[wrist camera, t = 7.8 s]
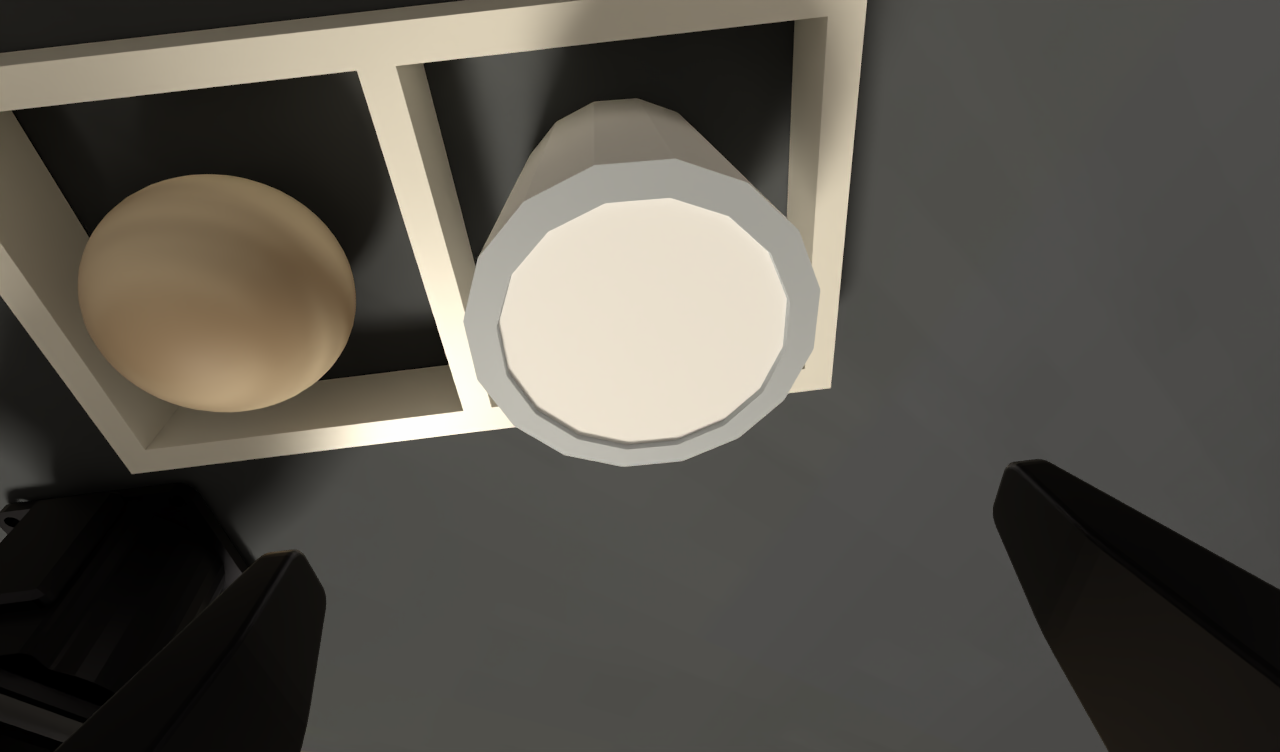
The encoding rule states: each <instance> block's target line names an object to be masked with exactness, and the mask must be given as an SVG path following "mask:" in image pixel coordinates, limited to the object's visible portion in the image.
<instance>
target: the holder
mask: <svg viewBox="0 0 1280 752" xmlns="http://www.w3.org/2000/svg"><path fill="white" fill-rule="evenodd" d="M866 6H867V0H462V1H453V2H445V3H436V4H427V5H418V6H410V7H401V8H392V9H383V10H374V11H366V12H357V13H348V14H339V15H330V16H322V17H313V18H304V19H295V20H287V21H278V22H269V23H260V24H251V25H243V26H234V27H225V28H216V29H207V30H199V31H190V32H181V33H172V34H164V35H155V36H146V37H137V38H128V39H120V40H111V41H102V42H93V43H84V44H76V45H67V46H58V47H49V48H41V49H32V50H23V51H14V52H5V53H0V296H1V297H2V298H3V300H4V301H5V302H6V304H7V305H8V306H9V308H10V309H11V311H12V312H13V313H14V315H15V316H16V317H17V319H18V320H19V321H20V323H21V324H22V325H23V327H24V328H25V330H26V331H27V332H28V334H29V335H30V336H31V338H32V339H33V340H34V342H35V343H36V345H37V346H38V347H39V349H40V350H41V351H42V353H43V354H44V355H45V357H46V358H47V359H48V361H49V362H50V364H51V365H52V366H53V368H54V369H55V370H56V372H57V373H58V374H59V376H60V377H61V379H62V380H63V381H64V383H65V384H66V385H67V387H68V388H69V389H70V391H71V392H72V393H73V395H74V396H75V398H76V399H77V400H78V402H79V403H80V404H81V406H82V407H83V408H84V410H85V411H86V413H87V414H88V415H89V417H90V418H91V419H92V421H93V422H94V423H95V425H96V426H97V427H98V429H99V430H100V432H101V433H102V434H103V436H104V437H105V438H106V440H107V441H108V442H109V444H110V445H111V447H112V448H113V449H114V451H115V452H116V453H117V455H118V456H119V457H120V459H121V460H122V461H123V463H124V464H125V466H126V467H127V468H128V470H129V471H130V472H131V474H137V473H146V472H154V471H162V470H170V469H178V468H186V467H194V466H202V465H210V464H218V463H227V462H235V461H243V460H251V459H259V458H267V457H275V456H283V455H291V454H299V453H308V452H316V451H324V450H332V449H340V448H348V447H356V446H364V445H372V444H381V443H389V442H397V441H405V440H413V439H421V438H429V437H437V436H445V435H453V434H462V433H470V432H478V431H486V430H494V429H502V428H510V427H515V426H513V424H512V423H511V422H510V420H509V419H508V418H507V417H506V415H505V414H504V413H503V412H502V410H501V409H500V408H499V407H498V405H497V404H496V403H495V402H494V400H493V399H492V398H491V397H490V395H489V394H488V393H487V391H486V390H485V389H484V388H483V386H482V385H481V384H480V383H479V381H478V380H477V377H476V373H475V369H474V365H473V360H472V356H471V352H470V348H469V344H468V340H467V336H466V331H465V327H464V323H463V320H464V315H465V311H466V307H467V302H468V298H469V294H470V289H471V285H472V281H473V277H474V272H475V268H476V266H475V263H474V259H473V255H472V251H471V247H470V243H469V239H468V235H467V232H466V228H465V224H464V220H463V216H462V212H461V208H460V204H459V201H458V197H457V193H456V189H455V185H454V181H453V177H452V173H451V170H450V166H449V162H448V158H447V154H446V150H445V146H444V142H443V139H442V135H441V131H440V127H439V123H438V119H437V115H436V111H435V108H434V104H433V100H432V96H431V92H430V88H429V84H428V81H427V77H426V73H425V69H424V65H423V63H427V62H435V61H444V60H453V59H462V58H470V57H479V56H488V55H496V54H505V53H514V52H522V51H531V50H540V49H548V48H557V47H566V46H575V45H583V44H592V43H601V42H609V41H618V40H627V39H635V38H644V37H653V36H661V35H670V34H679V33H687V32H696V31H705V30H714V29H722V28H731V27H740V26H748V25H757V24H766V23H774V22H783V21H792V20H795V22H794V48H793V73H792V99H791V124H790V150H789V175H788V201H787V219H788V220H789V221H790V222H791V223H792V224H793V225H794V226H795V227H796V228H797V229H798V230H799V231H800V234H801V237H802V240H803V243H804V245H805V248H806V251H807V254H808V256H809V259H810V262H811V265H812V268H813V270H814V273H815V276H816V279H817V281H818V284H819V287H820V298H819V307H818V315H817V324H816V333H815V341H814V349H813V351H812V353H811V354H810V356H809V358H808V359H807V361H806V363H805V365H804V366H803V368H802V370H801V372H800V373H799V375H798V377H797V378H796V380H795V382H794V384H793V385H792V387H791V389H790V391H789V392H788V393H794V392H802V391H810V390H818V389H826V388H831V378H832V368H833V357H834V346H835V336H836V325H837V315H838V304H839V293H840V283H841V272H842V261H843V251H844V240H845V230H846V219H847V208H848V198H849V187H850V176H851V166H852V155H853V145H854V134H855V123H856V113H857V102H858V91H859V81H860V70H861V60H862V49H863V38H864V28H865V17H866ZM349 71H357V73H358V76H359V79H360V82H361V85H362V89H363V92H364V95H365V98H366V101H367V105H368V108H369V111H370V114H371V117H372V120H373V124H374V127H375V130H376V133H377V136H378V140H379V143H380V146H381V149H382V152H383V156H384V159H385V162H386V165H387V168H388V172H389V175H390V178H391V181H392V184H393V188H394V191H395V194H396V197H397V200H398V203H399V207H400V210H401V213H402V216H403V219H404V223H405V226H406V229H407V232H408V235H409V239H410V242H411V245H412V248H413V251H414V255H415V258H416V261H417V264H418V267H419V271H420V274H421V277H422V280H423V283H424V286H425V290H426V293H427V296H428V299H429V302H430V306H431V309H432V312H433V315H434V318H435V322H436V325H437V328H438V331H439V334H440V338H441V341H442V344H443V347H444V350H445V353H446V357H447V360H448V363H449V365H443V366H435V367H427V368H419V369H411V370H402V371H394V372H386V373H378V374H370V375H361V376H353V377H345V378H337V379H328V380H320V381H316V382H315V383H314V384H313V385H312V386H310V387H308V388H307V389H305V390H304V391H302V392H300V393H299V394H297V395H296V396H294V397H292V398H289V399H287V400H285V401H283V402H280V403H277V404H275V405H271V406H268V407H265V408H260V409H255V410H249V411H242V412H211V411H203V410H195V409H191V408H186V407H182V406H179V405H175V404H172V403H170V402H167V401H164V400H162V399H159V398H157V397H155V396H153V395H151V394H149V393H147V392H146V391H144V390H142V389H141V388H139V387H137V386H136V385H134V384H133V383H131V382H130V381H129V380H127V379H126V378H125V377H124V376H122V375H121V374H120V373H119V372H118V371H117V370H116V369H115V368H114V367H113V366H112V365H111V364H110V363H109V362H108V361H107V360H106V358H105V357H104V356H103V355H102V353H101V352H100V351H99V349H98V348H97V346H96V345H95V343H94V341H93V340H92V338H91V336H90V335H89V333H88V330H87V328H86V326H85V323H84V320H83V316H82V312H81V309H80V305H79V300H78V274H79V265H80V262H81V259H82V255H83V252H84V250H85V247H86V244H87V242H88V240H89V236H88V235H87V233H86V232H85V230H84V228H83V227H82V225H81V223H80V222H79V220H78V219H77V217H76V215H75V214H74V212H73V210H72V209H71V207H70V205H69V204H68V202H67V201H66V199H65V197H64V196H63V194H62V192H61V191H60V189H59V188H58V186H57V184H56V183H55V181H54V179H53V178H52V176H51V174H50V173H49V171H48V170H47V168H46V166H45V165H44V163H43V161H42V160H41V158H40V156H39V155H38V153H37V152H36V150H35V148H34V147H33V145H32V143H31V142H30V140H29V139H28V137H27V135H26V134H25V132H24V130H23V129H22V127H21V125H20V124H19V122H18V121H17V119H16V117H15V116H14V114H13V112H12V111H11V110H18V109H27V108H36V107H45V106H53V105H62V104H71V103H79V102H88V101H97V100H105V99H114V98H123V97H131V96H140V95H149V94H157V93H166V92H175V91H184V90H192V89H201V88H210V87H218V86H227V85H236V84H244V83H253V82H262V81H270V80H279V79H288V78H296V77H305V76H314V75H323V74H331V73H340V72H349Z"/></svg>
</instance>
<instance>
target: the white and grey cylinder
mask: <svg viewBox="0 0 1280 752" xmlns="http://www.w3.org/2000/svg"><path fill="white" fill-rule="evenodd" d="M819 298H820V287H819V284H818V281H817V279H816V276H815V273H814V270H813V268H812V265H811V262H810V259H809V256H808V254H807V251H806V248H805V245H804V243H803V240H802V237H801V234H800V231H799V230H798V229H797V228H796V227H795V226H794V225H793V224H792V223H791V222H790V221H789V220H788V219H787V218H786V217H785V216H784V215H783V214H782V213H781V212H780V211H779V210H778V209H777V208H776V207H775V206H774V205H773V204H772V203H771V202H769V201H768V200H767V199H766V198H765V197H764V196H763V195H762V194H761V193H760V192H759V191H758V190H757V189H756V188H755V187H754V186H753V185H752V184H751V183H750V182H749V181H748V180H747V179H746V178H745V177H744V176H743V175H742V174H741V173H740V172H739V171H738V170H737V169H736V168H735V167H734V166H733V165H732V164H731V163H730V162H729V161H728V160H727V159H726V158H725V157H724V156H723V155H722V154H721V153H720V152H718V151H717V150H716V149H715V148H714V147H713V146H712V145H711V144H710V143H709V142H708V141H707V140H706V139H705V138H704V137H703V136H702V135H701V134H700V133H699V132H698V131H697V130H696V129H695V128H694V127H692V126H691V125H690V124H689V123H688V122H687V121H686V120H685V119H684V118H683V117H682V116H681V115H680V114H679V113H678V112H675V111H672V110H670V109H667V108H664V107H661V106H658V105H655V104H653V103H650V102H647V101H644V100H641V99H638V98H632V99H620V100H607V101H594V102H592V103H590V104H588V105H586V106H585V107H583V108H581V109H579V110H577V111H575V112H573V113H572V114H570V115H568V116H566V117H564V118H562V119H560V120H558V121H557V122H555V124H554V125H553V126H552V127H551V129H550V130H549V131H548V133H547V134H546V135H545V136H544V138H543V139H542V140H541V141H540V143H539V144H538V145H537V147H536V148H535V149H534V150H533V152H532V153H531V154H530V156H529V158H528V160H527V162H526V164H525V166H524V168H523V170H522V172H521V174H520V176H519V178H518V180H517V182H516V184H515V186H514V187H513V189H512V191H511V193H510V195H509V197H508V199H507V201H506V203H505V205H504V207H503V209H502V211H501V213H500V215H499V217H498V219H497V221H496V223H495V225H494V227H493V229H492V231H491V233H490V235H489V237H488V239H487V241H486V243H485V245H484V247H483V249H482V251H481V253H480V255H479V257H478V259H477V264H476V268H475V272H474V277H473V281H472V285H471V289H470V294H469V298H468V302H467V307H466V311H465V315H464V320H463V323H464V327H465V331H466V336H467V340H468V344H469V348H470V352H471V356H472V360H473V365H474V369H475V373H476V377H477V380H478V381H479V383H480V384H481V385H482V386H483V388H484V389H485V390H486V391H487V393H488V394H489V395H490V397H491V398H492V399H493V400H494V402H495V403H496V404H497V405H498V407H499V408H500V409H501V410H502V412H503V413H504V414H505V415H506V417H507V418H508V419H509V420H510V422H511V423H512V424H513V426H515V427H517V428H519V429H520V430H522V431H524V432H526V433H527V434H529V435H531V436H532V437H534V438H536V439H538V440H539V441H541V442H543V443H545V444H546V445H548V446H550V447H551V448H553V449H555V450H557V451H558V452H560V453H562V454H564V455H567V456H572V457H577V458H582V459H587V460H592V461H597V462H602V463H607V464H612V465H617V466H622V467H625V466H636V465H646V464H656V463H666V462H677V461H684V460H686V459H689V458H691V457H693V456H696V455H698V454H701V453H703V452H706V451H708V450H711V449H713V448H716V447H718V446H720V445H723V444H725V443H728V442H730V441H733V440H735V439H738V438H739V437H740V436H742V435H743V434H744V433H745V432H746V431H748V430H749V429H750V428H751V427H752V426H754V425H755V424H756V423H757V422H758V421H759V420H761V419H762V418H763V417H764V416H765V415H767V414H768V413H769V412H770V411H771V410H773V409H774V408H775V407H776V406H777V405H779V404H780V403H781V402H782V401H783V400H784V399H785V398H786V396H787V394H788V392H789V391H790V389H791V387H792V385H793V384H794V382H795V380H796V378H797V377H798V375H799V373H800V372H801V370H802V368H803V366H804V365H805V363H806V361H807V359H808V358H809V356H810V354H811V353H812V351H813V349H814V341H815V333H816V324H817V315H818V307H819Z"/></svg>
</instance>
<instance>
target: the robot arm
mask: <svg viewBox="0 0 1280 752" xmlns="http://www.w3.org/2000/svg"><path fill="white" fill-rule="evenodd" d="M993 518H994V522H995V525H996V528H997V530H998V532H999V535H1000V537H1001V539H1002V542H1003V544H1004V546H1005V549H1006V551H1007V553H1008V556H1009V558H1010V560H1011V563H1012V565H1013V567H1014V570H1015V572H1016V574H1017V577H1018V579H1019V581H1020V583H1021V586H1022V588H1023V590H1024V593H1025V595H1026V597H1027V600H1028V602H1029V604H1030V607H1031V609H1032V611H1033V614H1034V616H1035V618H1036V620H1037V622H1038V625H1039V627H1040V629H1041V631H1042V633H1043V635H1044V637H1045V639H1046V641H1047V643H1048V644H1049V646H1050V648H1051V650H1052V652H1053V654H1054V656H1055V657H1056V659H1057V661H1058V663H1059V664H1060V666H1061V668H1062V670H1063V672H1064V673H1065V675H1066V677H1067V679H1068V680H1069V682H1070V684H1071V686H1072V688H1073V689H1074V691H1075V693H1076V695H1077V696H1078V698H1079V700H1080V702H1081V704H1082V705H1083V707H1084V709H1085V711H1086V713H1087V714H1088V716H1089V718H1090V720H1091V721H1092V723H1093V725H1094V727H1095V729H1096V730H1097V732H1098V734H1099V736H1100V737H1101V739H1102V741H1103V743H1104V745H1105V746H1106V748H1107V750H1108V752H1280V589H1278V588H1276V587H1274V586H1272V585H1271V584H1269V583H1267V582H1265V581H1263V580H1262V579H1260V578H1258V577H1256V576H1254V575H1253V574H1251V573H1249V572H1247V571H1245V570H1243V569H1242V568H1240V567H1238V566H1236V565H1234V564H1233V563H1231V562H1229V561H1227V560H1225V559H1224V558H1222V557H1220V556H1218V555H1216V554H1215V553H1213V552H1211V551H1209V550H1207V549H1206V548H1204V547H1202V546H1200V545H1198V544H1197V543H1195V542H1193V541H1191V540H1189V539H1188V538H1186V537H1184V536H1182V535H1180V534H1178V533H1177V532H1175V531H1173V530H1171V529H1169V528H1168V527H1166V526H1164V525H1162V524H1160V523H1159V522H1157V521H1155V520H1153V519H1151V518H1150V517H1148V516H1146V515H1144V514H1142V513H1141V512H1139V511H1137V510H1135V509H1133V508H1132V507H1130V506H1128V505H1126V504H1124V503H1122V502H1121V501H1119V500H1117V499H1115V498H1113V497H1112V496H1110V495H1108V494H1106V493H1104V492H1103V491H1101V490H1099V489H1097V488H1095V487H1094V486H1092V485H1090V484H1088V483H1086V482H1085V481H1083V480H1081V479H1079V478H1077V477H1076V476H1074V475H1072V474H1070V473H1068V472H1066V471H1065V470H1063V469H1061V468H1059V467H1057V466H1056V465H1054V464H1052V463H1050V462H1048V461H1046V460H1042V459H1034V460H1026V461H1017V462H1012V463H1010V464H1009V465H1008V466H1007V467H1006V468H1005V470H1004V473H1003V477H1002V480H1001V483H1000V486H999V489H998V492H997V495H996V499H995V502H994V505H993ZM0 527H1V528H2V529H3V530H4V531H5V532H6V533H7V534H8V535H7V536H6V537H5V538H4V539H3V540H2V542H1V543H0V752H300V751H301V748H302V744H303V740H304V735H305V731H306V727H307V722H308V717H309V711H310V706H311V700H312V693H313V687H314V680H315V674H316V668H317V661H318V655H319V649H320V642H321V636H322V630H323V623H324V617H325V610H326V595H325V591H324V589H323V586H322V585H321V583H320V581H319V579H318V578H317V576H316V574H315V572H314V571H313V569H312V567H311V566H310V564H309V562H308V560H307V559H306V557H305V555H304V554H303V553H302V552H300V551H299V550H286V551H277V552H270V553H266V554H264V555H262V556H261V557H260V558H258V559H257V560H256V561H255V562H254V563H253V564H252V565H251V566H250V567H249V568H248V566H247V565H246V563H245V562H244V560H243V559H242V557H241V556H240V554H239V553H238V551H237V550H236V548H235V547H234V545H233V544H232V542H231V541H230V539H229V538H228V537H227V535H226V534H225V532H224V531H223V529H222V528H221V526H220V525H219V523H218V522H217V520H216V519H215V517H214V516H213V514H212V513H211V511H210V510H209V508H208V507H207V505H206V504H205V502H204V501H203V499H202V498H201V496H200V495H199V493H198V492H197V491H196V490H195V489H194V488H193V487H191V486H189V485H187V484H183V483H173V484H165V485H156V486H148V487H140V488H132V489H124V490H116V491H108V492H100V493H92V494H84V495H76V496H68V497H59V498H51V499H43V500H35V501H27V502H19V503H11V504H8V505H6V506H5V507H4V508H3V509H2V510H1V511H0Z"/></svg>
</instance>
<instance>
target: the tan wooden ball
mask: <svg viewBox="0 0 1280 752" xmlns="http://www.w3.org/2000/svg"><path fill="white" fill-rule="evenodd" d="M78 300H79V305H80V309H81V312H82V316H83V320H84V323H85V326H86V328H87V330H88V333H89V335H90V336H91V338H92V340H93V341H94V343H95V345H96V346H97V348H98V349H99V351H100V352H101V353H102V355H103V356H104V357H105V358H106V360H107V361H108V362H109V363H110V364H111V365H112V366H113V367H114V368H115V369H116V370H117V371H118V372H119V373H120V374H121V375H122V376H124V377H125V378H126V379H127V380H129V381H130V382H131V383H133V384H134V385H136V386H137V387H139V388H141V389H142V390H144V391H146V392H147V393H149V394H151V395H153V396H155V397H157V398H159V399H162V400H164V401H167V402H170V403H172V404H175V405H179V406H182V407H186V408H191V409H195V410H203V411H211V412H242V411H249V410H255V409H260V408H265V407H268V406H271V405H275V404H277V403H280V402H283V401H285V400H287V399H289V398H292V397H294V396H296V395H297V394H299V393H300V392H302V391H304V390H305V389H307V388H308V387H310V386H312V385H313V384H314V383H315V382H316V381H318V380H319V379H320V378H321V377H322V376H323V375H324V374H325V373H326V372H327V371H328V370H329V369H330V368H331V367H332V366H333V364H334V363H335V362H336V360H337V359H338V357H339V356H340V354H341V353H342V351H343V349H344V347H345V346H346V344H347V341H348V338H349V336H350V333H351V330H352V327H353V323H354V317H355V310H356V291H355V284H354V279H353V274H352V271H351V267H350V264H349V262H348V259H347V257H346V255H345V253H344V251H343V249H342V248H341V246H340V244H339V243H338V241H337V239H336V238H335V236H334V235H333V234H332V232H331V231H330V230H329V228H328V227H327V226H326V225H325V224H324V223H323V222H322V221H321V220H320V219H319V218H318V217H317V215H315V214H314V213H313V212H312V211H311V210H309V209H308V208H307V207H306V206H304V205H303V204H302V203H300V202H299V201H297V200H296V199H294V198H293V197H291V196H289V195H287V194H285V193H283V192H282V191H280V190H277V189H275V188H273V187H270V186H268V185H265V184H262V183H259V182H256V181H253V180H249V179H246V178H241V177H236V176H230V175H217V174H199V175H187V176H181V177H176V178H171V179H167V180H163V181H161V182H158V183H155V184H152V185H149V186H147V187H145V188H143V189H141V190H139V191H138V192H136V193H134V194H132V195H130V196H128V197H127V198H125V199H124V200H123V201H122V202H120V203H119V204H118V205H117V206H115V207H114V208H113V209H112V210H111V211H110V212H109V213H107V215H106V216H105V217H104V218H103V219H102V221H101V222H100V223H99V224H98V226H97V227H96V229H95V230H94V231H93V233H92V235H91V237H90V238H89V240H88V242H87V244H86V247H85V250H84V252H83V255H82V259H81V262H80V265H79V274H78Z"/></svg>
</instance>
